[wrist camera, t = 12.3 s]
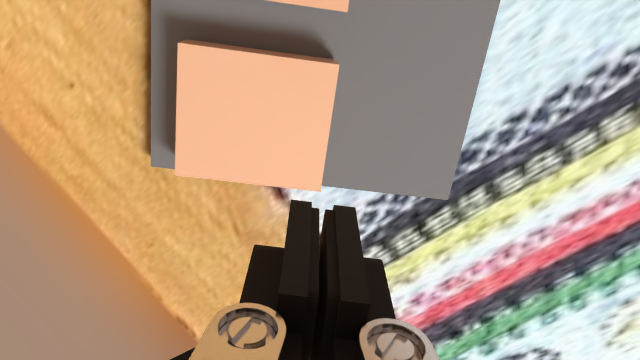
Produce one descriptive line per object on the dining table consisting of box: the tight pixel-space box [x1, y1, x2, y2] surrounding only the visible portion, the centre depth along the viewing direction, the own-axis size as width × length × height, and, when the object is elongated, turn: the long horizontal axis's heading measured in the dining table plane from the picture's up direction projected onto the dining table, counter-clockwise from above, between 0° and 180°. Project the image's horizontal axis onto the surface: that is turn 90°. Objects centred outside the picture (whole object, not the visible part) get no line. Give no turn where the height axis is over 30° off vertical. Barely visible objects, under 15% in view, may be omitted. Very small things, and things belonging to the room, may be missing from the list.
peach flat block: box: [175, 39, 339, 192], centre depth 25 cm, size 2×7×8 cm
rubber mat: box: [151, 0, 500, 200], centre depth 25 cm, size 18×18×1 cm
